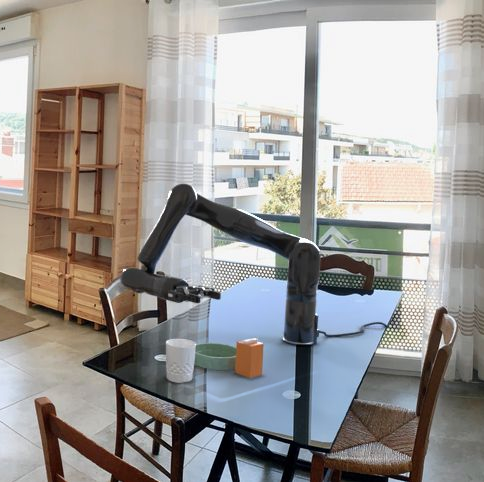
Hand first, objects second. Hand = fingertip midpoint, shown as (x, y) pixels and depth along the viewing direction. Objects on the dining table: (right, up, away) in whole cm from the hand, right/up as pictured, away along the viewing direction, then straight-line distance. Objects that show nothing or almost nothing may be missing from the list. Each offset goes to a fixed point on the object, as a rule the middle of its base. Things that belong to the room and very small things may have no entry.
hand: (209, 298), depth 180 cm
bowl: (+1, -19, -1) cm, 19 cm away
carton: (+8, -20, -11) cm, 24 cm away
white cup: (-12, -21, -14) cm, 28 cm away
